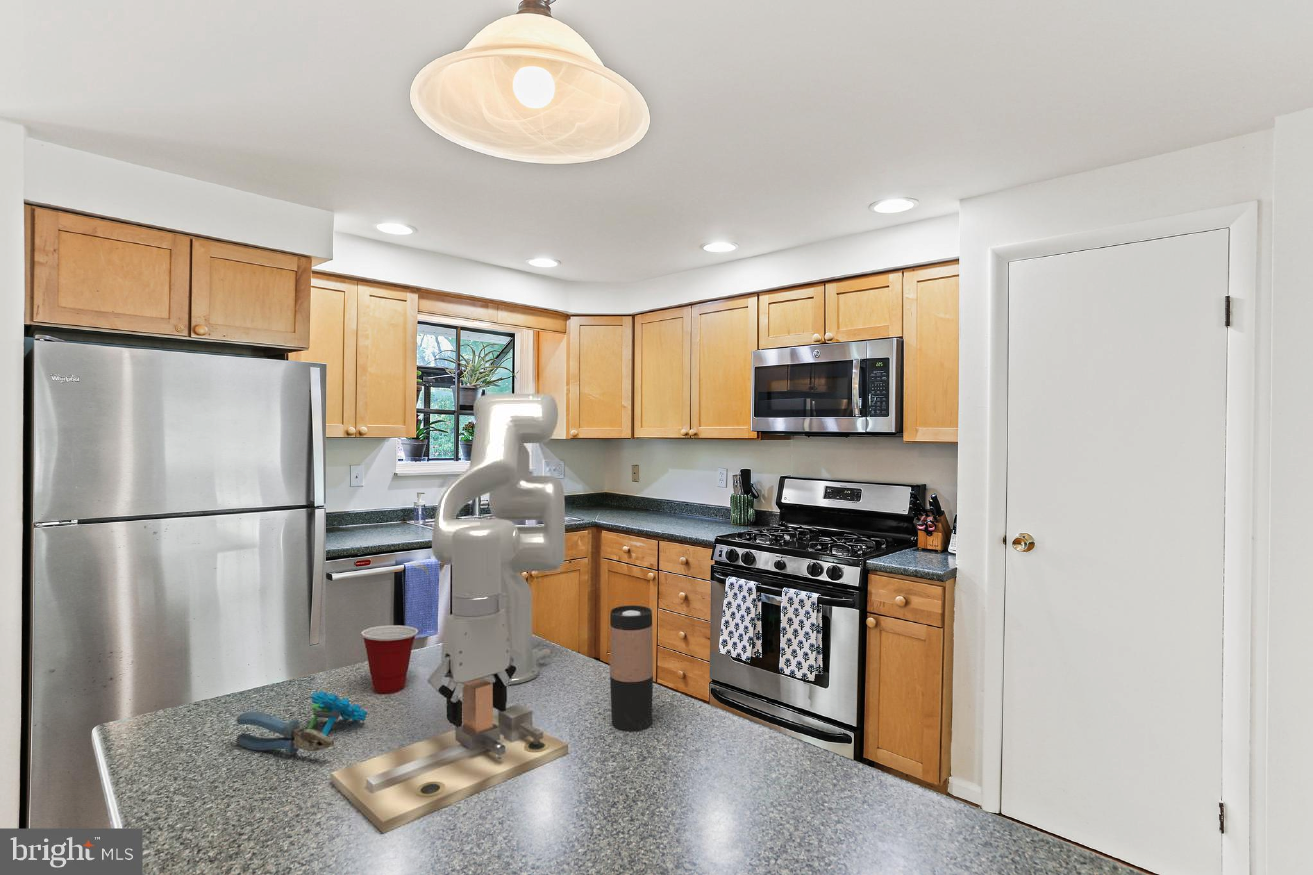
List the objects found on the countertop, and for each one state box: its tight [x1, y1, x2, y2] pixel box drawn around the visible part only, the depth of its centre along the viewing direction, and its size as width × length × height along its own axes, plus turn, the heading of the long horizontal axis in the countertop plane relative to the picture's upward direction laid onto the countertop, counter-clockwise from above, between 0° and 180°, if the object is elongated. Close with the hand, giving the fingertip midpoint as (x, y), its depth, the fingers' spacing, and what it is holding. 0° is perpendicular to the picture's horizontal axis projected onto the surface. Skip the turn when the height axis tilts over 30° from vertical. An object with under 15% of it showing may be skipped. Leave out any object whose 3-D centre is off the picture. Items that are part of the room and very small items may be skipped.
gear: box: [307, 691, 368, 737], centre depth 116 cm, size 11×6×10 cm
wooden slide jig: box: [330, 703, 569, 834], centre depth 103 cm, size 30×18×6 cm, turn 135°
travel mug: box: [609, 604, 654, 732], centre depth 119 cm, size 8×8×20 cm
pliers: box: [235, 711, 335, 756], centre depth 108 cm, size 20×2×6 cm, turn 69°
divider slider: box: [454, 678, 505, 760], centre depth 104 cm, size 5×10×10 cm, turn 45°
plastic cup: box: [360, 624, 419, 695], centre depth 135 cm, size 11×11×12 cm
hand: (477, 715), depth 106 cm, fingers open, 7 cm apart
